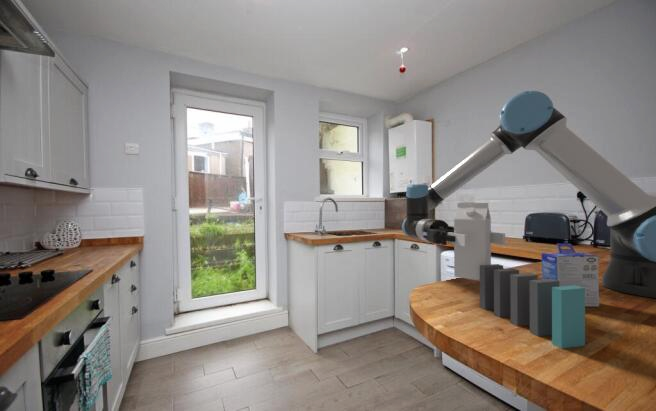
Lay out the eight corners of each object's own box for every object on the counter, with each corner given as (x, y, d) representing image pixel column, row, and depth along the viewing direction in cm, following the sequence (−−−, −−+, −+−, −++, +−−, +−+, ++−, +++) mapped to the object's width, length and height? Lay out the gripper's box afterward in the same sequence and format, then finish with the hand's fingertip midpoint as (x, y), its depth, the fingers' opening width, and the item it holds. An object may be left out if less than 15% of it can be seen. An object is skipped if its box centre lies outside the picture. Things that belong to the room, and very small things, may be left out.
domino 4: (529, 332, 52) (529, 280, 52) (551, 329, 53) (550, 278, 53) (537, 336, 50) (537, 282, 50) (559, 333, 51) (559, 280, 51)
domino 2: (494, 314, 60) (493, 269, 60) (513, 312, 61) (512, 268, 61) (499, 317, 59) (499, 271, 59) (519, 315, 60) (519, 270, 60)
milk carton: (461, 271, 75) (461, 203, 75) (491, 275, 70) (490, 202, 70) (454, 277, 70) (453, 203, 69) (485, 282, 65) (485, 203, 65)
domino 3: (510, 322, 56) (510, 274, 56) (530, 320, 57) (530, 273, 57) (517, 326, 55) (517, 276, 54) (538, 323, 56) (537, 275, 55)
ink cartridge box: (579, 299, 69) (579, 242, 69) (601, 307, 64) (601, 246, 64) (540, 299, 69) (540, 242, 69) (558, 307, 64) (558, 246, 64)
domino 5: (552, 343, 48) (551, 287, 48) (574, 340, 49) (574, 285, 49) (561, 348, 46) (561, 290, 46) (584, 345, 47) (584, 288, 47)
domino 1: (479, 307, 65) (479, 265, 65) (497, 305, 66) (497, 264, 65) (485, 309, 63) (484, 266, 63) (503, 307, 64) (503, 265, 64)
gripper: (463, 241, 90) (524, 253, 68) (400, 243, 85) (443, 257, 64) (463, 218, 90) (524, 223, 68) (400, 220, 85) (443, 225, 63)
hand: (485, 240), depth 66 cm, fingers closed on milk carton, 10 cm apart
